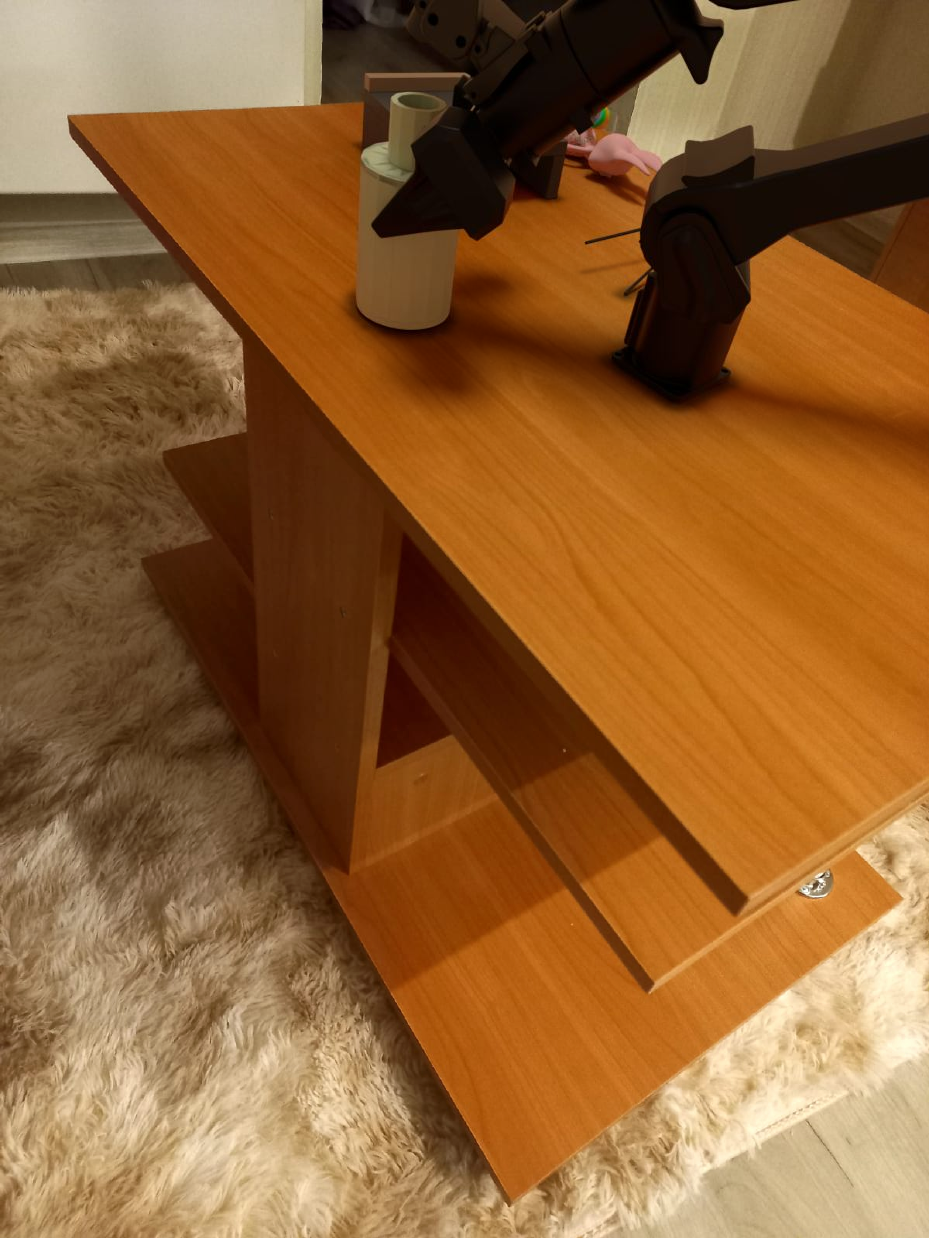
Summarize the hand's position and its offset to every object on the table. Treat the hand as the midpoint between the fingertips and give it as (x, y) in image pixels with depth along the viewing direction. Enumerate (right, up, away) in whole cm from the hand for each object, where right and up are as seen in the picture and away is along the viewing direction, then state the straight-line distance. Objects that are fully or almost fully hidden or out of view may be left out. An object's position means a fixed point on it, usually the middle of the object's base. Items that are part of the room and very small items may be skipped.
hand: (390, 209), depth 59 cm
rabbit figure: (+19, +17, +29) cm, 38 cm away
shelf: (+4, +15, +24) cm, 28 cm away
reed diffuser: (+23, +4, +17) cm, 29 cm away
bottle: (+1, -5, +5) cm, 7 cm away
